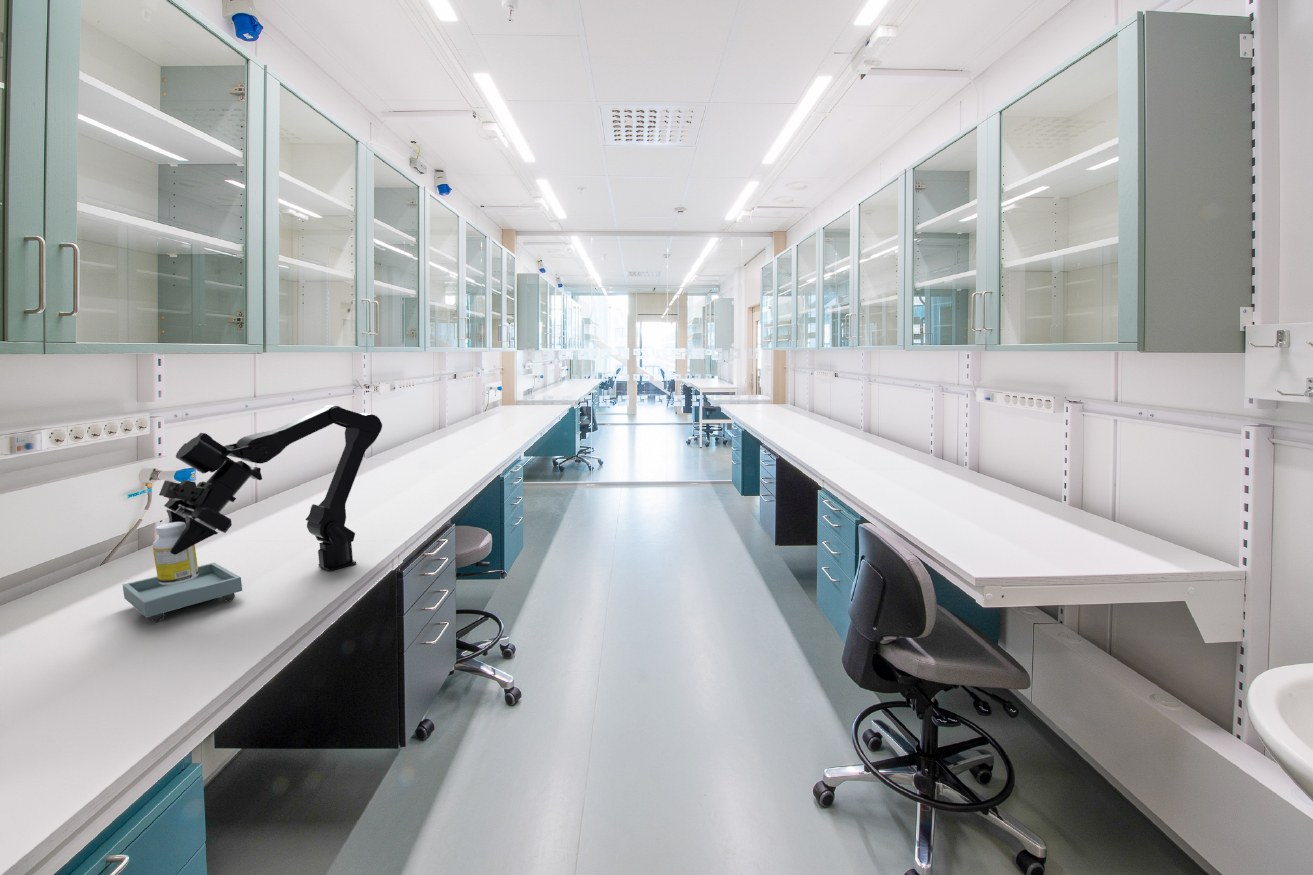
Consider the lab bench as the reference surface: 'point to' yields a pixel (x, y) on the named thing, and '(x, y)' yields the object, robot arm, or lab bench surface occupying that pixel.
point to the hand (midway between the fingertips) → (166, 550)
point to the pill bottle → (173, 556)
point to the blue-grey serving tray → (181, 591)
